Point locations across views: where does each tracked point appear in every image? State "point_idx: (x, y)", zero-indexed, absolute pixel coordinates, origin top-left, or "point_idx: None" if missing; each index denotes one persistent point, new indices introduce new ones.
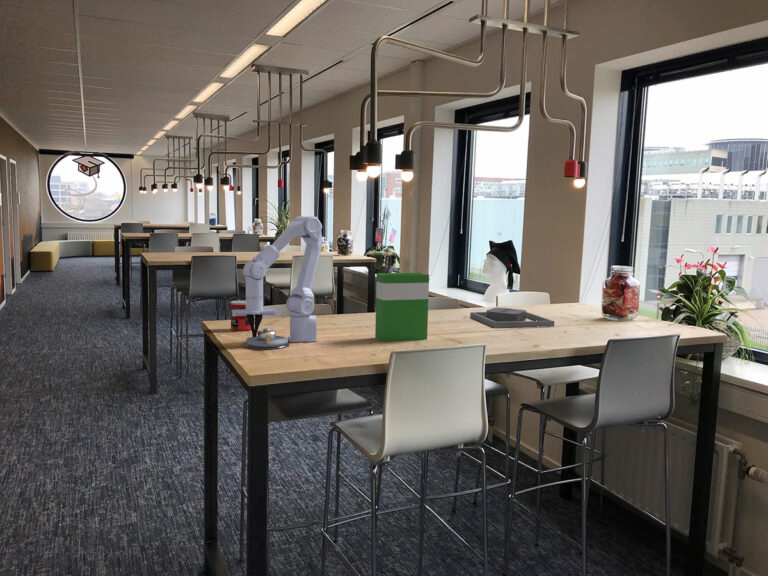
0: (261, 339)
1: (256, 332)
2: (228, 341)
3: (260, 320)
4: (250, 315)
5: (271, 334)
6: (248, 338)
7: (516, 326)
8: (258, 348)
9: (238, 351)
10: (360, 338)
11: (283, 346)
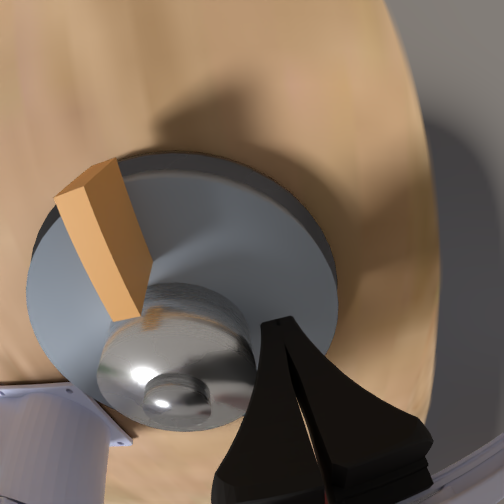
0: (207, 295)
1: (266, 348)
2: (408, 351)
3: (233, 464)
4: (387, 497)
5: (113, 338)
6: (322, 346)
7: None
8: (208, 157)
9: (361, 83)
10: None
11: (36, 248)
